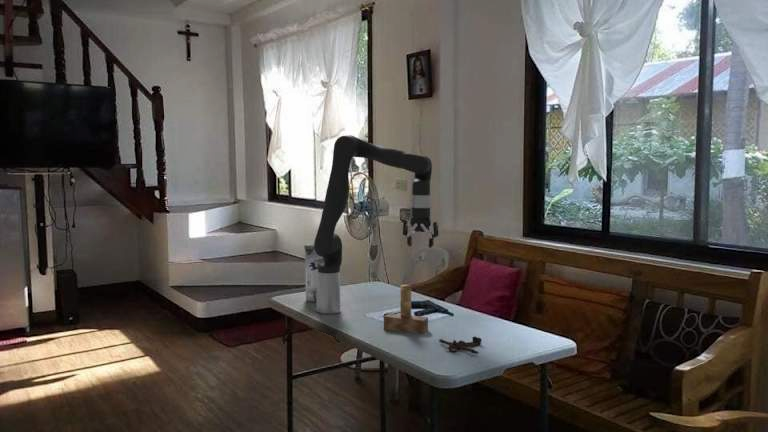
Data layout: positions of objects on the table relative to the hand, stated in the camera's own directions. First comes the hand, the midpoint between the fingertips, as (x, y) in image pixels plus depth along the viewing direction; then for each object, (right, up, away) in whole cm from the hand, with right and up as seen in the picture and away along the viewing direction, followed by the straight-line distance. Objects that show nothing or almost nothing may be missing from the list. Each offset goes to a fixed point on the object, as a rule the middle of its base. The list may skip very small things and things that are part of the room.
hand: (420, 246), depth 245 cm
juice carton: (-45, -27, +38) cm, 64 cm away
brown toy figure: (+13, -34, -35) cm, 50 cm away
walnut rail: (-6, -31, -12) cm, 34 cm away
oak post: (-6, -26, -13) cm, 29 cm away
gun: (+3, -29, +17) cm, 33 cm away
